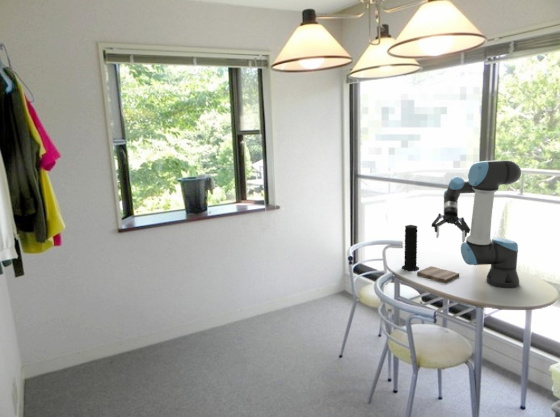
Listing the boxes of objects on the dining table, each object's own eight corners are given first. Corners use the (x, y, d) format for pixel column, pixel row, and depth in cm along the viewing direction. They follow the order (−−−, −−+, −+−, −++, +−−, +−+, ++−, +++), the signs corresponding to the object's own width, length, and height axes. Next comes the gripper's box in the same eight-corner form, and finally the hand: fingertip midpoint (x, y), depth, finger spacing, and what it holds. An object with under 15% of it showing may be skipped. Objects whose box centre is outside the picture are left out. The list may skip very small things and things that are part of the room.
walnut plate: (459, 276, 219) (459, 273, 219) (445, 283, 211) (445, 279, 211) (431, 269, 233) (431, 266, 232) (417, 275, 224) (417, 271, 224)
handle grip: (421, 271, 231) (417, 265, 241) (422, 226, 226) (418, 222, 236) (403, 271, 232) (400, 265, 242) (404, 226, 227) (400, 223, 237)
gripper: (471, 218, 233) (472, 247, 220) (426, 211, 239) (425, 238, 225) (475, 210, 228) (476, 238, 214) (429, 202, 233) (428, 229, 219)
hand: (450, 238), depth 219 cm, fingers open, 13 cm apart
